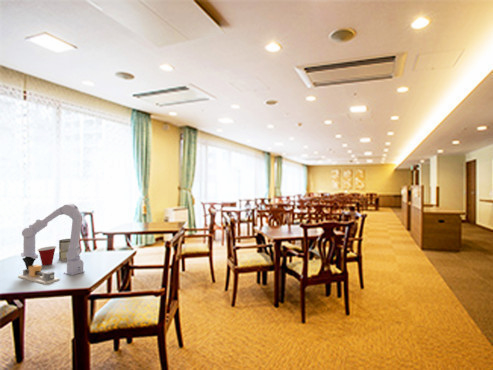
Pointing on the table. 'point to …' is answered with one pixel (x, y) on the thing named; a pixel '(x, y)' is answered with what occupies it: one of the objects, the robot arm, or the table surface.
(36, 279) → the cord board
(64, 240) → the coffee can
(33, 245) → the robot arm
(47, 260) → the plastic cup
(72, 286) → the table surface
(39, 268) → the marker sleeve
